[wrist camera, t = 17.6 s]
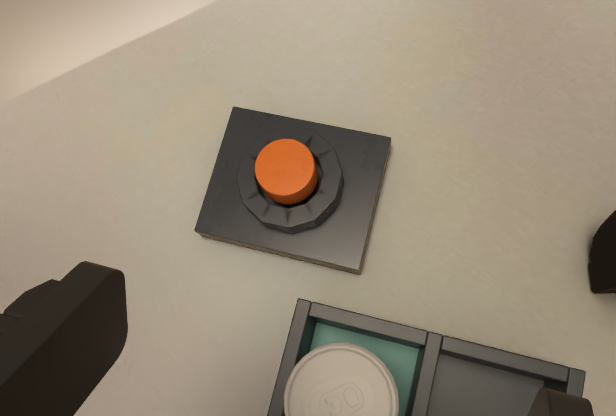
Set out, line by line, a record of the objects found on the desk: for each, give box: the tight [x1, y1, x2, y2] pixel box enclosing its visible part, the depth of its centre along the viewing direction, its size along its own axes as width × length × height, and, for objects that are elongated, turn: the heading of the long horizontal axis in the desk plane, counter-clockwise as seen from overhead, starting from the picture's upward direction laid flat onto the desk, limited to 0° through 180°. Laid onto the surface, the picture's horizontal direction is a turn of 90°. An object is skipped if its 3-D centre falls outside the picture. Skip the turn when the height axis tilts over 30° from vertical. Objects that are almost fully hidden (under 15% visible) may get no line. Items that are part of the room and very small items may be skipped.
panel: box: [195, 107, 391, 274], centre depth 38 cm, size 11×9×4 cm
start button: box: [255, 139, 318, 204], centre depth 36 cm, size 4×4×2 cm
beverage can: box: [284, 343, 399, 416], centre depth 29 cm, size 5×5×12 cm
